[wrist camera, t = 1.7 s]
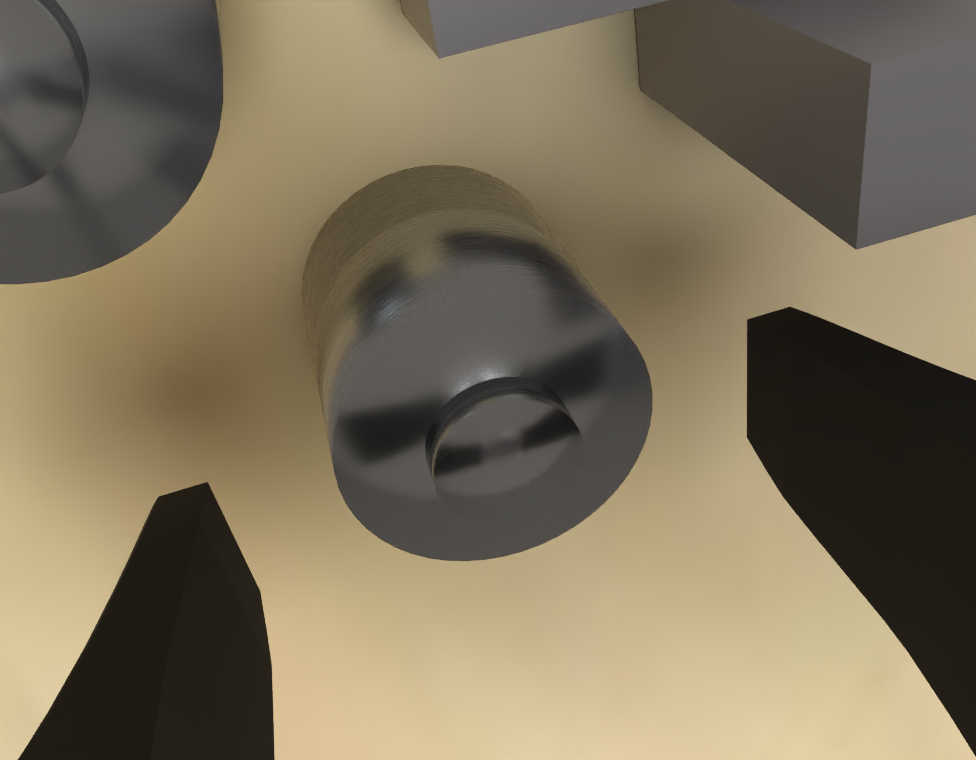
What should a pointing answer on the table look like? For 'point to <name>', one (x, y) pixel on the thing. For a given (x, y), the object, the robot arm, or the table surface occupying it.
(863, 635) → the table surface
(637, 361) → the weight
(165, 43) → the cylinder
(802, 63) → the scale
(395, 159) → the table surface
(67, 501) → the table surface
